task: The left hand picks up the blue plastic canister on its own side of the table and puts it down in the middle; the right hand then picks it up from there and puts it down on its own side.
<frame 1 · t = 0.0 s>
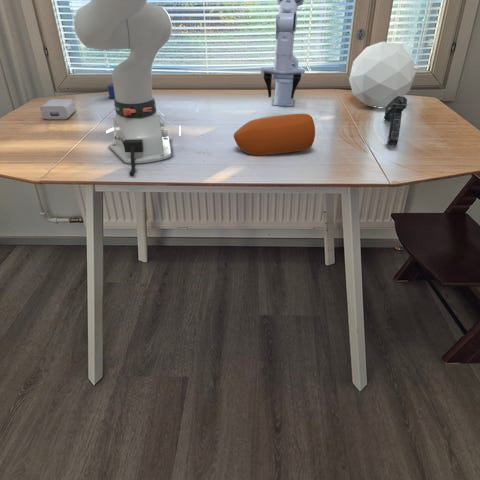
right hand: (280, 97, 140), 10 cm above the table, tool pointing down, fingers open, 7 cm apart
charger: (62, 113, 154), on the table
futuristic handgun: (389, 134, 140), on the table
decorative sphere: (375, 106, 167), on the table
canister: (114, 97, 173), on the table
orange tapered cylinder: (273, 150, 127), on the table
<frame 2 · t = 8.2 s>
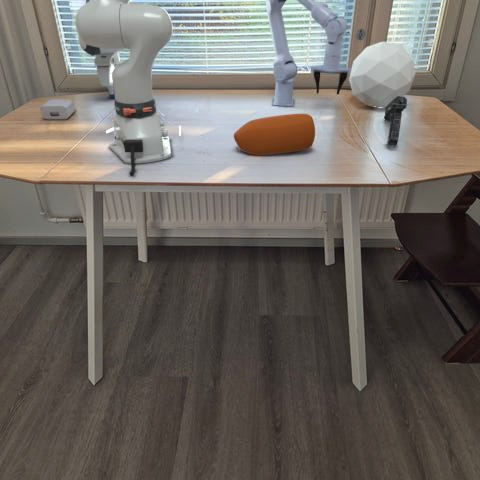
left hand: (113, 92, 172), 2 cm above the table, tool pointing down, fingers closed on canister, 4 cm apart
right hand: (327, 93, 156), 7 cm above the table, tool pointing down, fingers open, 7 cm apart
canister: (114, 97, 173), on the table, touching left hand
everything else where it was.
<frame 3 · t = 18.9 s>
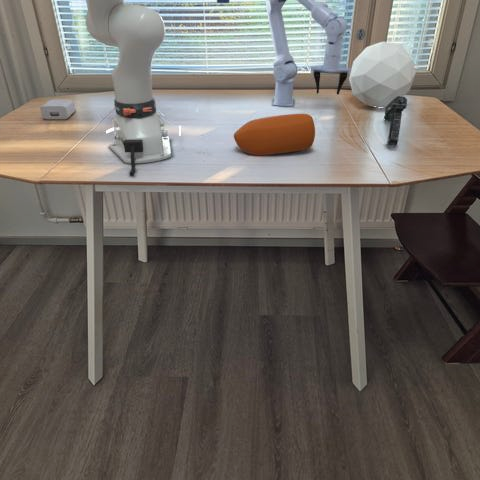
right hand: (327, 93, 156), 7 cm above the table, tool pointing down, fingers open, 7 cm apart
canister: (223, 2, 137), point 37 cm above the table, touching left hand
everything else where it was.
when the left hand's fingers open (3 cm above the table, at t = 29.7 s): canister drops 1 cm, on the table.
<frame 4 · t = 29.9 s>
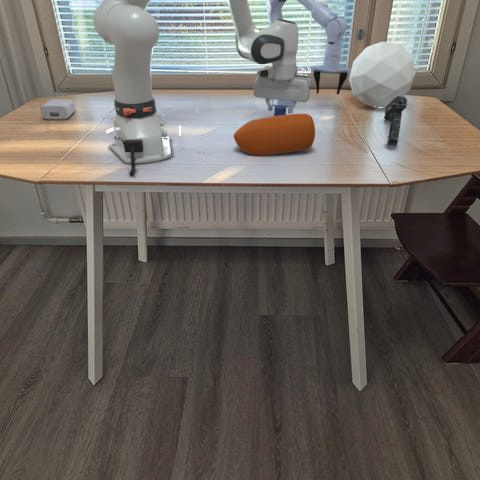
left hand: (280, 111, 149), 3 cm above the table, tool pointing down, fingers open, 6 cm apart
right hand: (327, 93, 156), 7 cm above the table, tool pointing down, fingers open, 7 cm apart
canister: (279, 120, 151), on the table
everything else where it was.
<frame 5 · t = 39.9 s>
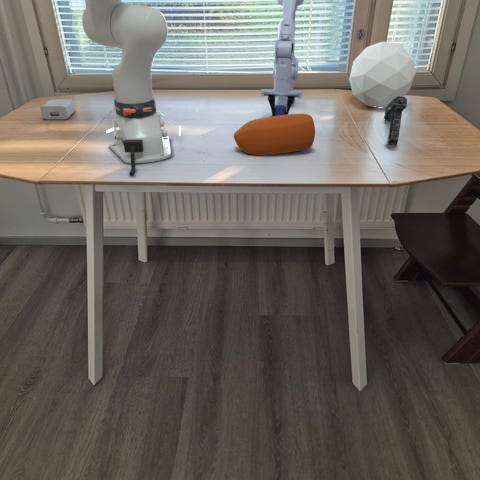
right hand: (279, 116, 150), 1 cm above the table, tool pointing down, fingers closed on canister, 4 cm apart
canister: (279, 120, 151), on the table, touching right hand
everything else where it was.
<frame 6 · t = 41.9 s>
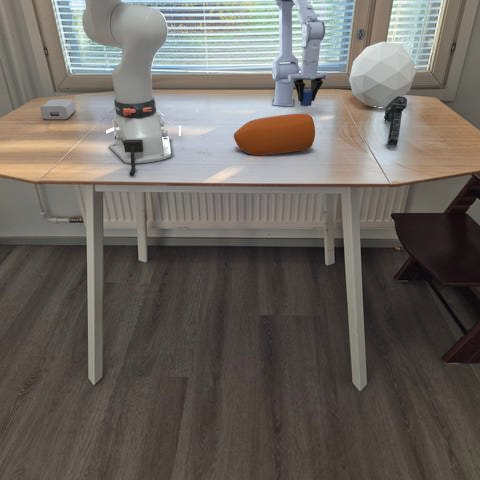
right hand: (306, 100, 148), 7 cm above the table, tool pointing down, fingers closed on canister, 4 cm apart
canister: (305, 104, 149), point 5 cm above the table, touching right hand
everything else where it was.
when the right hand's fingers open (3 cm above the table, at t = 44.0 s): canister stays where it is, on the table.
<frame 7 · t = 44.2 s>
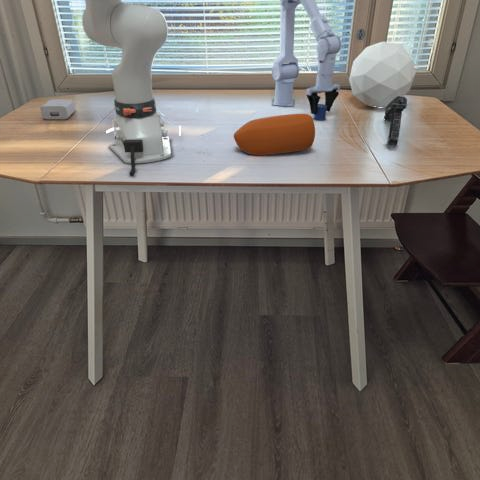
right hand: (320, 112, 151), 3 cm above the table, tool pointing down, fingers open, 6 cm apart
canister: (319, 119, 153), on the table
everything else where it was.
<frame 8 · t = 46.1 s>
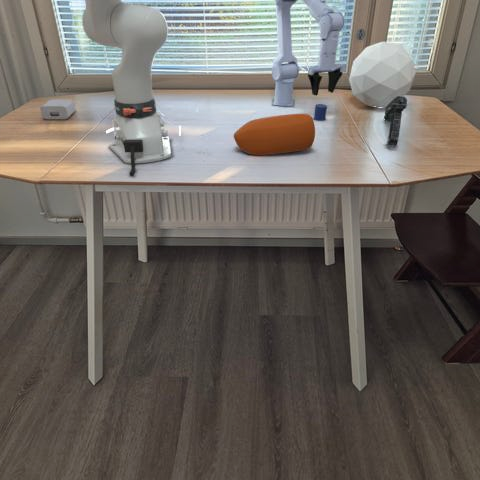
right hand: (322, 93, 147), 9 cm above the table, tool pointing down, fingers open, 7 cm apart
nothing on the table moved.
at the end: canister inside the target area (0.0 cm from its centre), on the table; canister tilted 0°; the two hands never held the canister at the same time; the left hand is holding nothing; the right hand is holding nothing; canister at rest at the end (0.0 cm/s) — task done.
